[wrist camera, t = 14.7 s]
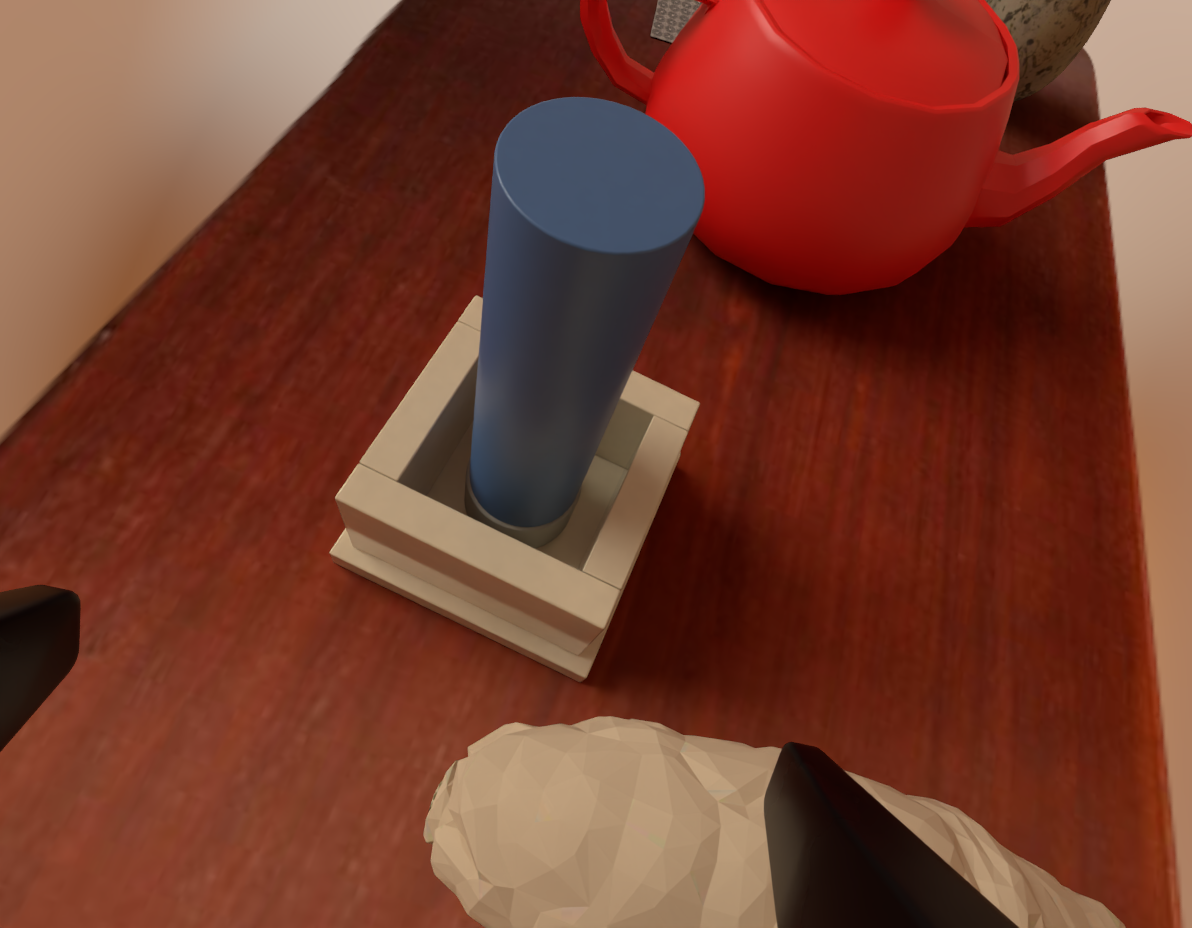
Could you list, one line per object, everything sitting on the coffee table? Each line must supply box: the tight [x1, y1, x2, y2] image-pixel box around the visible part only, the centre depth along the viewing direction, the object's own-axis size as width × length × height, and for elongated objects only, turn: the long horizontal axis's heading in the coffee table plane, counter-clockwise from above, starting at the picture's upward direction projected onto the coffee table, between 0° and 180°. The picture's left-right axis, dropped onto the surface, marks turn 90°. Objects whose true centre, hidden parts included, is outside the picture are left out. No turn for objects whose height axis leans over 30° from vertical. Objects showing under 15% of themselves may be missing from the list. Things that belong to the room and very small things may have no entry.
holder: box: [330, 296, 700, 682], centre depth 22 cm, size 9×9×5 cm
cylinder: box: [464, 97, 705, 548], centre depth 17 cm, size 4×4×14 cm
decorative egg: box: [985, 0, 1111, 101], centre depth 38 cm, size 6×6×10 cm
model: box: [423, 716, 1126, 928], centre depth 16 cm, size 7×18×10 cm, turn 73°
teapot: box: [580, 0, 1192, 295], centre depth 29 cm, size 25×16×12 cm, turn 75°
